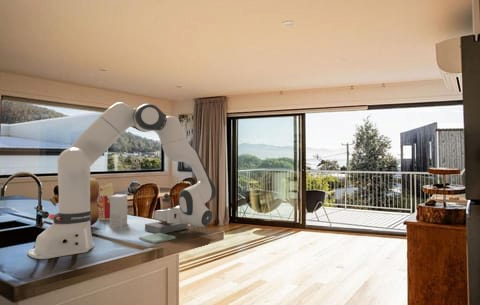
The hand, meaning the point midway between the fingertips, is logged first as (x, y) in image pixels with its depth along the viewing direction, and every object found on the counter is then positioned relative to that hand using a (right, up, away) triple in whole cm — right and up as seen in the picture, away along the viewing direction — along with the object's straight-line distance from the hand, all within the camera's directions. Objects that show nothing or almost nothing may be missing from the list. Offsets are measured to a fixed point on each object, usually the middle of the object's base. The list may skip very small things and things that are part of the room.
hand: (165, 210), depth 168 cm
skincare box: (-26, -9, +9) cm, 29 cm away
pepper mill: (+1, -9, -1) cm, 9 cm away
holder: (+1, -9, -1) cm, 9 cm away
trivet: (+1, -9, -19) cm, 21 cm away
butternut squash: (-41, -9, +3) cm, 42 cm away
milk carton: (-39, -9, +28) cm, 49 cm away
